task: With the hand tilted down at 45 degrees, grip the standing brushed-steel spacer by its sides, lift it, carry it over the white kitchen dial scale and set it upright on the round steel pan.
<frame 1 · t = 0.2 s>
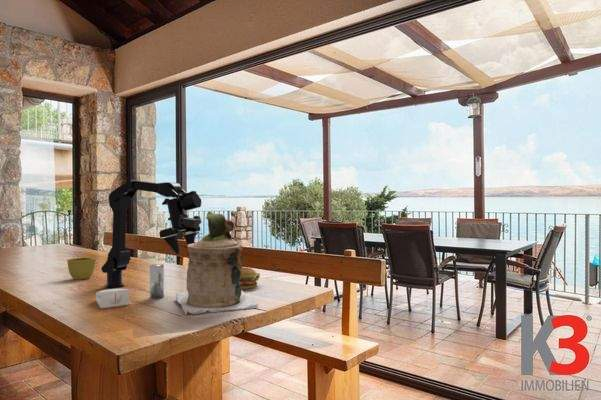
hand: (185, 252, 163), 15 cm above the table, tool pointing down, fingers open, 9 cm apart
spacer: (156, 297, 153), on the table
flower pot: (81, 279, 190), on the table
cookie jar: (215, 304, 145), on the table
food: (243, 287, 172), on the table
scale: (112, 302, 146), on the table
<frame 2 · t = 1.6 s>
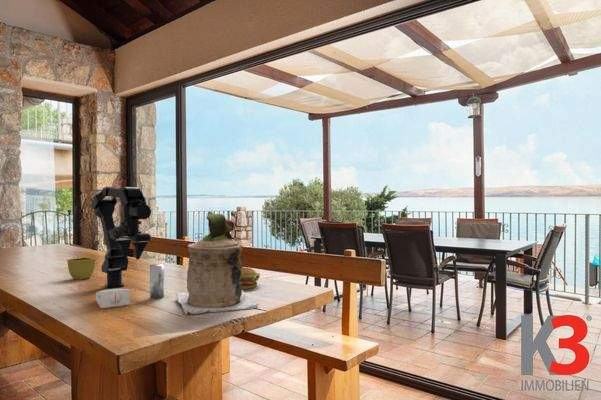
hand: (131, 258, 164), 13 cm above the table, tool pointing down, fingers open, 9 cm apart
nothing on the table moved.
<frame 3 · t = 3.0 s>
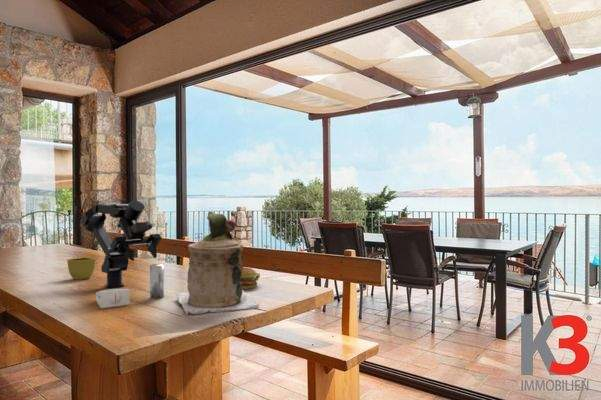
hand: (144, 258, 158), 13 cm above the table, tool tilted 45°, fingers open, 9 cm apart
nothing on the table moved.
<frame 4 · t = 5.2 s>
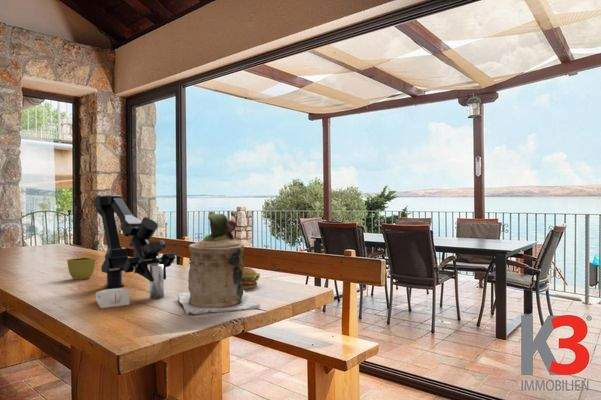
hand: (158, 280, 152), 7 cm above the table, tool tilted 45°, fingers closed on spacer, 5 cm apart
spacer: (156, 297, 153), on the table, touching gripper
everything else where it was.
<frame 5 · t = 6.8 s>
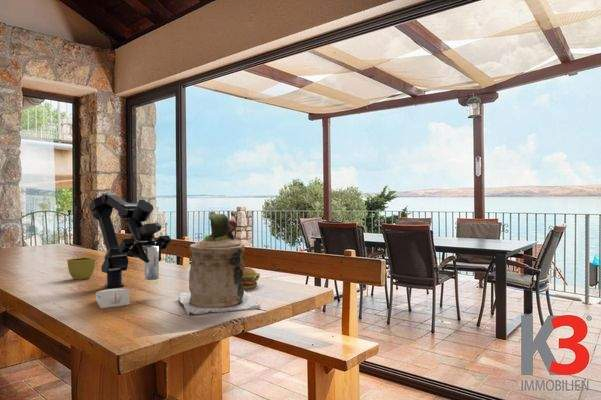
hand: (153, 261, 153), 13 cm above the table, tool tilted 45°, fingers closed on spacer, 5 cm apart
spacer: (151, 278, 154), point 7 cm above the table, touching gripper
everything else where it was.
when the fingers open (11 cm above the table, at t = 8.4 s): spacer stays where it is, resting on scale.
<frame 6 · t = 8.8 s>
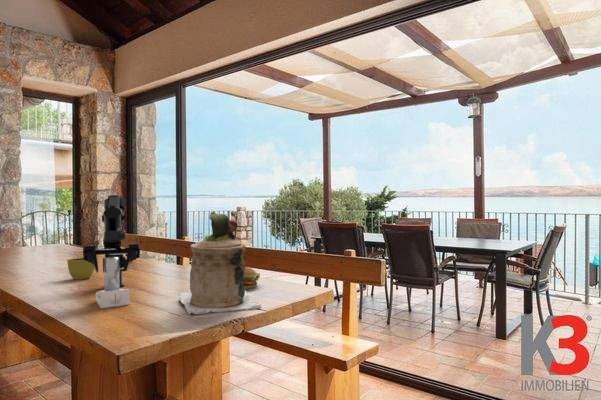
hand: (111, 271, 145), 11 cm above the table, tool tilted 45°, fingers open, 9 cm apart
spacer: (112, 291, 147), point 4 cm above the table, touching scale
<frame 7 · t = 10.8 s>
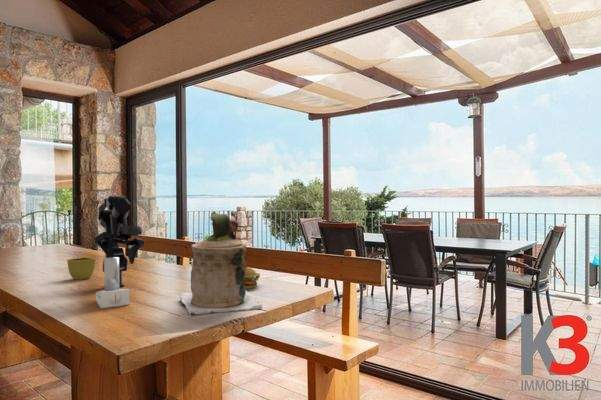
hand: (122, 262, 157), 12 cm above the table, tool tilted 30°, fingers open, 9 cm apart
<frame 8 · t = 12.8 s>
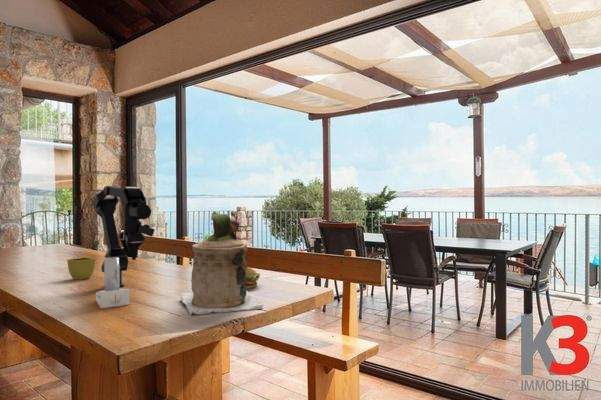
hand: (131, 258, 163), 13 cm above the table, tool pointing down, fingers open, 9 cm apart
at the end: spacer inside the target area on the scale (0.1 cm from its centre), point 3.6 cm above the scale's base; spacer tilted 0°; the gripper is holding nothing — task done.
